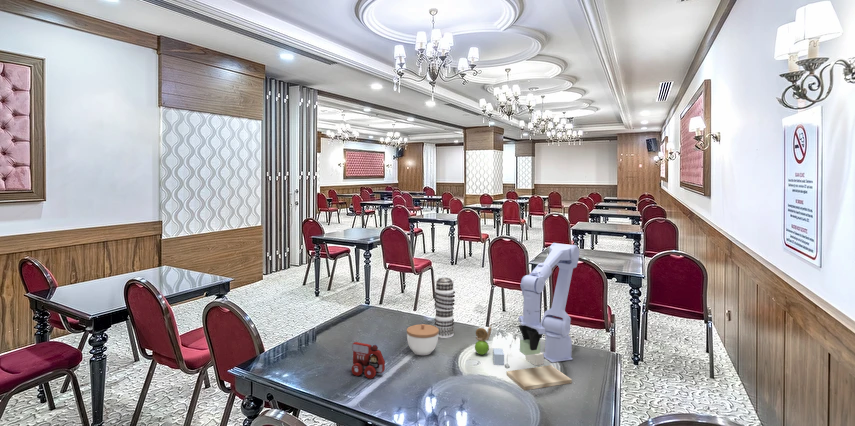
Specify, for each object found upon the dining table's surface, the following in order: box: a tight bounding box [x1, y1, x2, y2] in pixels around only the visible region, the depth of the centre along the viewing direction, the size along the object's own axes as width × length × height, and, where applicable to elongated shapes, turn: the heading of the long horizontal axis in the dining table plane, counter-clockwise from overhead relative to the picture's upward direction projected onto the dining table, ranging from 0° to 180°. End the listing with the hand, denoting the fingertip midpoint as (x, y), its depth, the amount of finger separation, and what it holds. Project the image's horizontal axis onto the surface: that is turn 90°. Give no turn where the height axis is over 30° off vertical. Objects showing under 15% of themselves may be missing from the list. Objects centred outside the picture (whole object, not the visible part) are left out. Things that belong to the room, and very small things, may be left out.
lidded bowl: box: [406, 323, 439, 356], centre depth 169 cm, size 13×13×11 cm
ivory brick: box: [524, 351, 545, 366], centre depth 161 cm, size 6×4×4 cm, turn 27°
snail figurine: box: [474, 324, 493, 356], centre depth 167 cm, size 5×6×12 cm
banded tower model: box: [433, 277, 456, 339], centre depth 188 cm, size 9×9×25 cm
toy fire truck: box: [350, 341, 386, 380], centre depth 149 cm, size 7×12×10 cm, turn 68°
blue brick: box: [492, 348, 505, 366], centre depth 161 cm, size 6×4×4 cm, turn 177°
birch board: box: [505, 364, 573, 391], centre depth 146 cm, size 18×12×1 cm, turn 108°
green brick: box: [519, 339, 541, 356], centre depth 151 cm, size 6×4×4 cm, turn 107°
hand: (530, 347), depth 151 cm, fingers closed on green brick, 3 cm apart
